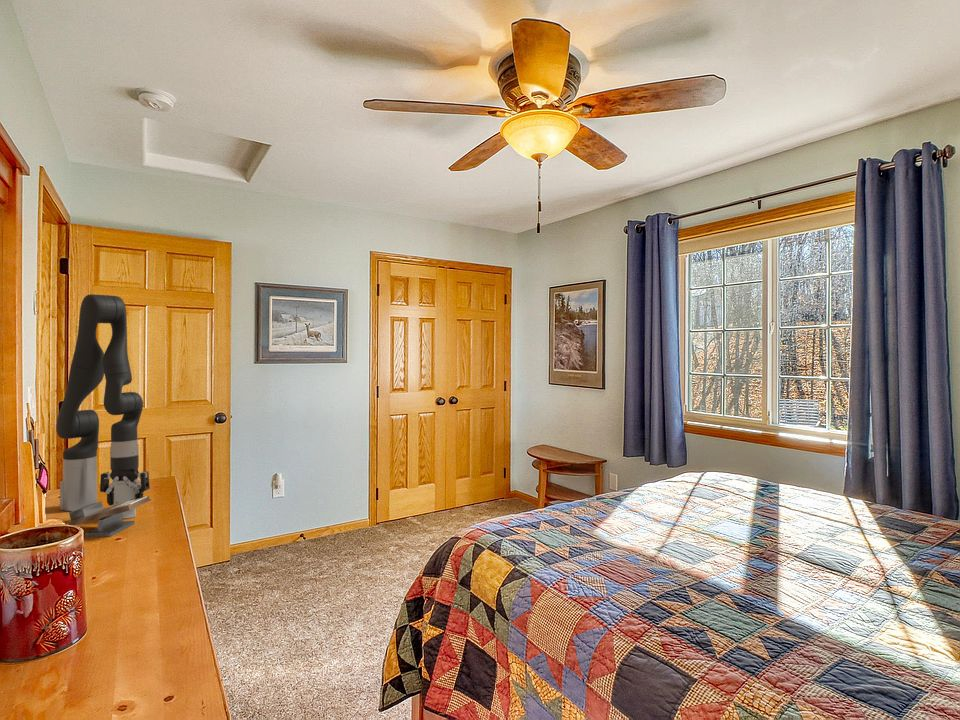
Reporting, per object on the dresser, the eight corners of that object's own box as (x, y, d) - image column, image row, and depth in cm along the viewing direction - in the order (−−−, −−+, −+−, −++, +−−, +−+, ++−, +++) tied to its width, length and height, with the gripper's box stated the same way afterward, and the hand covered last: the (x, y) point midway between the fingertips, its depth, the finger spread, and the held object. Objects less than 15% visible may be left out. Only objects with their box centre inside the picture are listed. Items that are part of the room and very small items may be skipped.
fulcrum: (85, 536, 150) (85, 521, 150) (111, 524, 161) (111, 509, 161) (110, 536, 151) (110, 520, 151) (134, 524, 162) (134, 509, 162)
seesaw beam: (68, 527, 151) (64, 514, 151) (92, 516, 161) (89, 504, 161) (129, 510, 151) (125, 497, 151) (150, 500, 161) (146, 488, 161)
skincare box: (113, 520, 165) (113, 482, 165) (113, 516, 169) (113, 479, 169) (136, 517, 169) (136, 479, 169) (136, 513, 172) (136, 476, 172)
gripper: (153, 452, 172) (154, 501, 173) (110, 452, 172) (110, 501, 172) (139, 456, 165) (140, 507, 165) (93, 456, 165) (94, 508, 165)
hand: (125, 504), depth 169 cm, fingers open, 8 cm apart
